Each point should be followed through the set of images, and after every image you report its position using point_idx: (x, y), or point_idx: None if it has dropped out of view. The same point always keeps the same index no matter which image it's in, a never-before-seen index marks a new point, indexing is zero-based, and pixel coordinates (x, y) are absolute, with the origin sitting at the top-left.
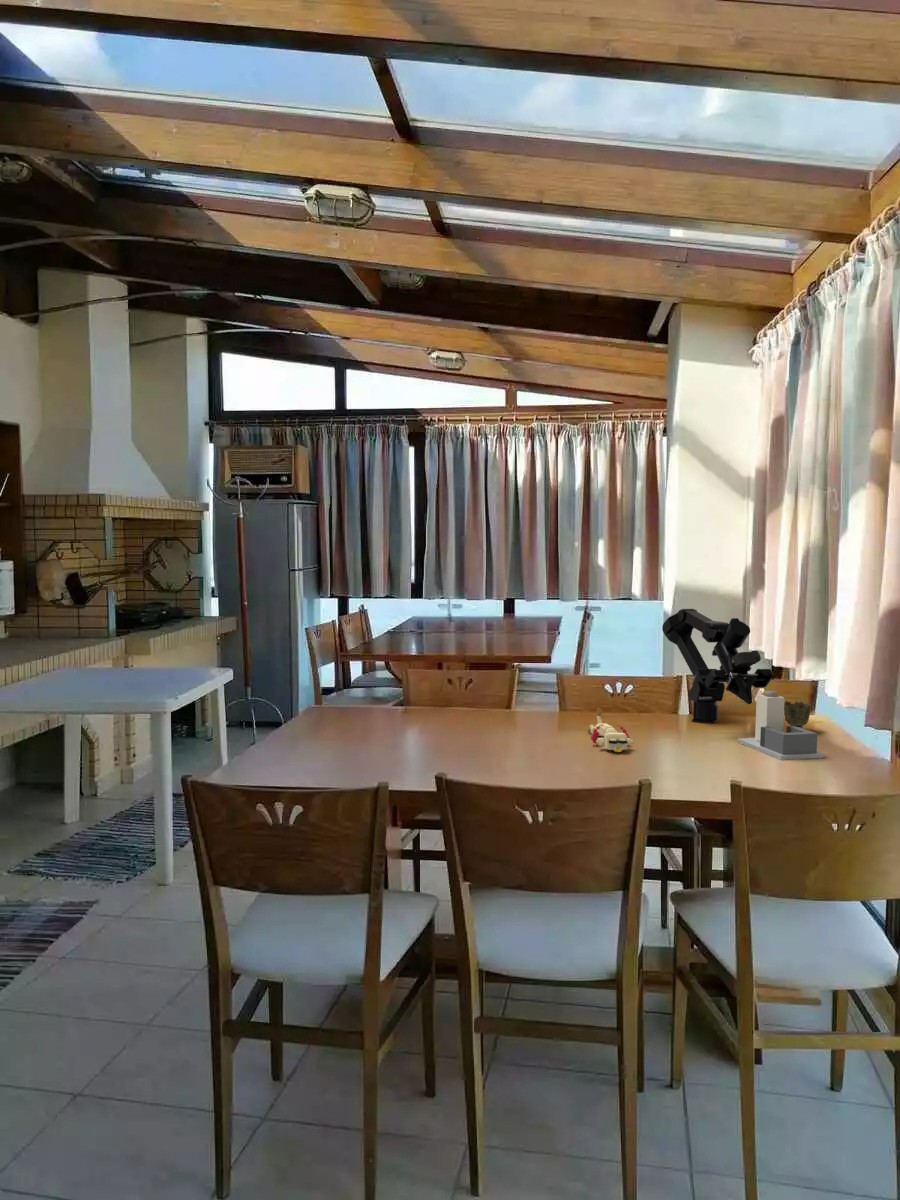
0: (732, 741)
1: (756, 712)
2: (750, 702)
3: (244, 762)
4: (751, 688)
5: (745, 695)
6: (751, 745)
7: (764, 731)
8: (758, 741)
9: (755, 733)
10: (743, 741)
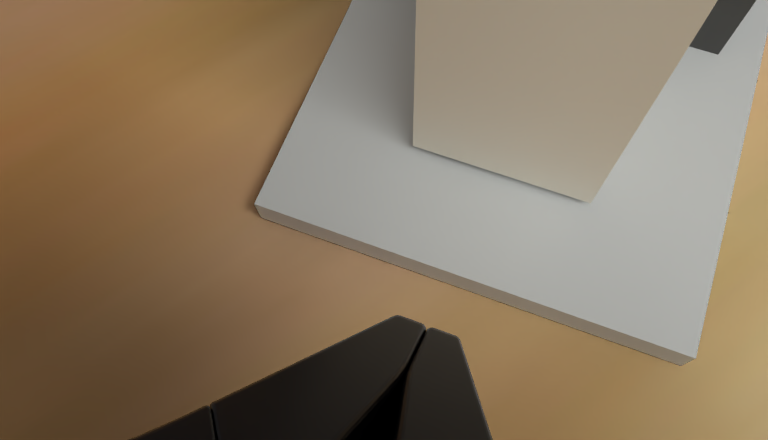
0: (696, 419)
1: (697, 26)
2: (433, 332)
3: None
4: (141, 437)
5: (488, 437)
6: (740, 132)
7: None
8: None
9: (606, 176)
10: (717, 249)
